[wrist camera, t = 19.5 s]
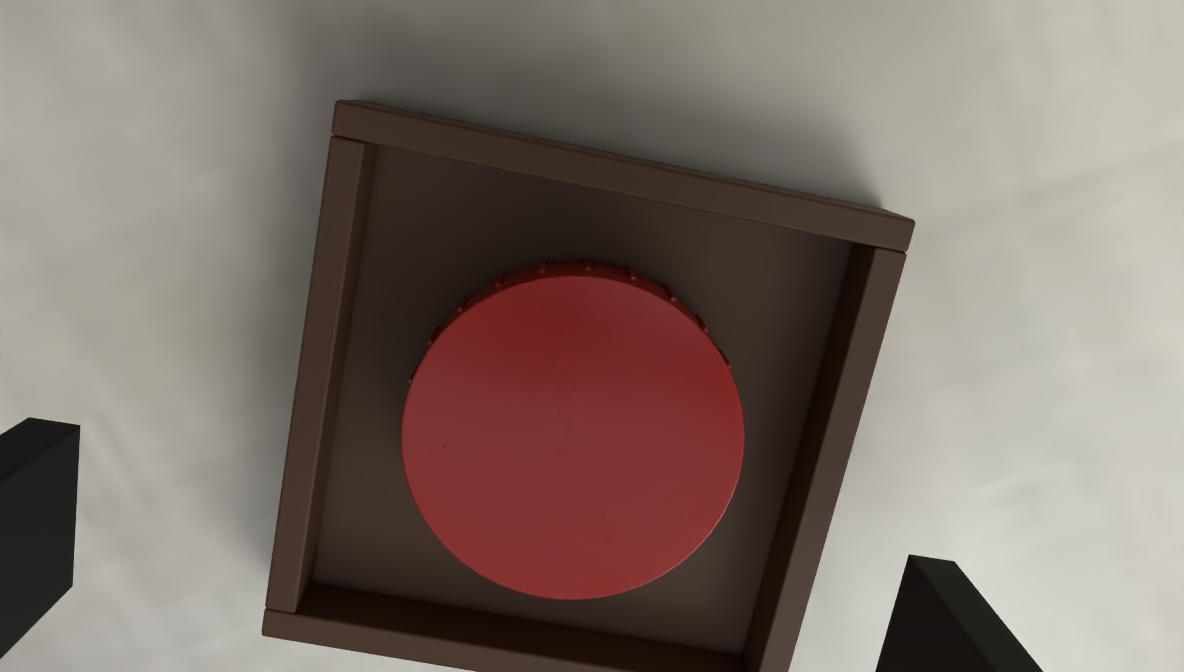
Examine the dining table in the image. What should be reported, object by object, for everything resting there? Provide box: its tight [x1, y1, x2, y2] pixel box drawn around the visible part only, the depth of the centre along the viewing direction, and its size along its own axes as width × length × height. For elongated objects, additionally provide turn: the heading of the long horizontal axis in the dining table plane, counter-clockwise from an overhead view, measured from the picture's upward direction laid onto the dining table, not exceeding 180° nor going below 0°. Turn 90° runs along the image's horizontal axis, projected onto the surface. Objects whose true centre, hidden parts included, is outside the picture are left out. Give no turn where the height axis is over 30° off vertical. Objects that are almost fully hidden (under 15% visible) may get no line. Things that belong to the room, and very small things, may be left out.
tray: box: [262, 100, 915, 672], centre depth 22 cm, size 12×12×2 cm
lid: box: [400, 257, 745, 600], centre depth 21 cm, size 7×7×2 cm
